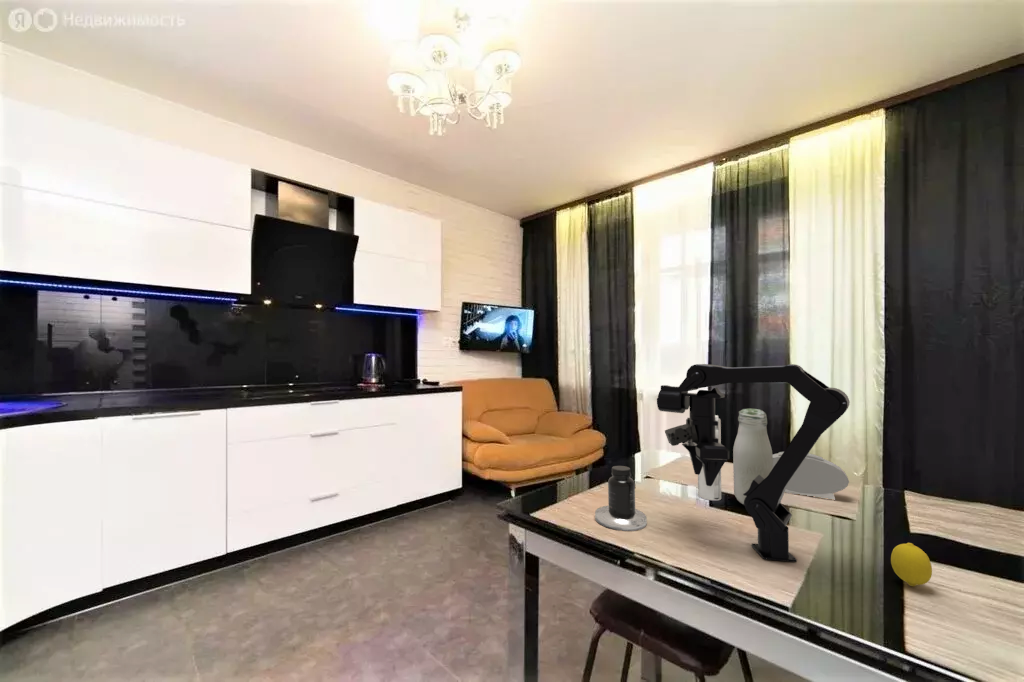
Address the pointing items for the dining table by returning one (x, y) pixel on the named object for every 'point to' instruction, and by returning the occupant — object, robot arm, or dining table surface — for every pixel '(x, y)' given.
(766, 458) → the glass bottle
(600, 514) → the metal plate
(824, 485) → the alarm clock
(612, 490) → the supplement bottle
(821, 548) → the dining table surface
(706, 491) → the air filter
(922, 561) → the lemon
